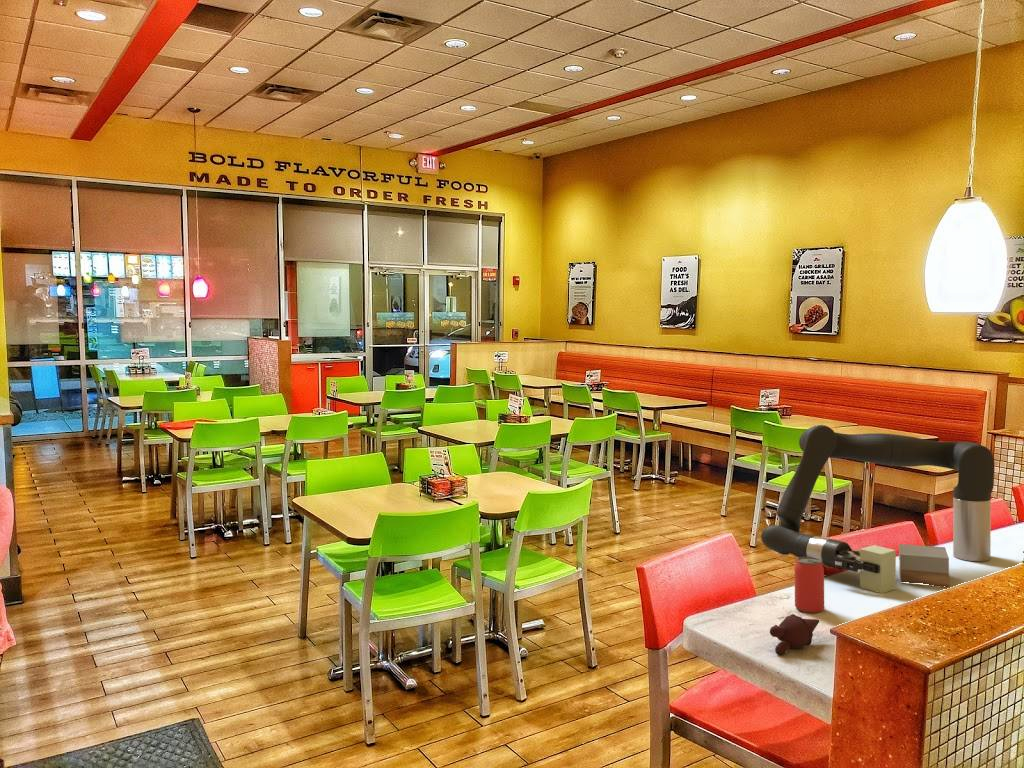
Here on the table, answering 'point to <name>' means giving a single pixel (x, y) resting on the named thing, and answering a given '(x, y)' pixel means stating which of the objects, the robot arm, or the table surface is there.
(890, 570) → the sage block
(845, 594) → the table surface
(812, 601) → the beer can
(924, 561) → the tower top block
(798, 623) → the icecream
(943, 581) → the tower base block
